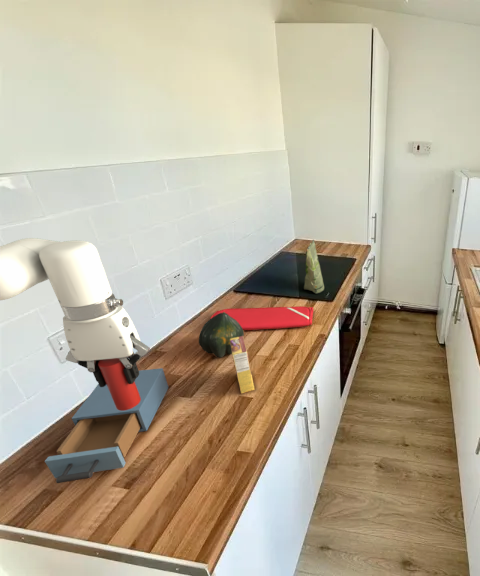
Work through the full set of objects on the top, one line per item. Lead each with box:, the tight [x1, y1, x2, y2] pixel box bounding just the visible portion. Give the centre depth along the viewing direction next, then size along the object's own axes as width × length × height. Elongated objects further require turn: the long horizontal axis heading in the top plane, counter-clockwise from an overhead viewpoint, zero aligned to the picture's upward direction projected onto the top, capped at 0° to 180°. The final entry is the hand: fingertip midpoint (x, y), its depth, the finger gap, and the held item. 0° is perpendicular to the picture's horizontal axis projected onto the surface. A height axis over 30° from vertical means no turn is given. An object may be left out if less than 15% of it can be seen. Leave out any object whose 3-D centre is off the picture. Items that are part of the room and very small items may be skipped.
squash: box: [198, 312, 245, 359], centre depth 117 cm, size 14×15×15 cm
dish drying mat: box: [209, 305, 314, 331], centre depth 136 cm, size 16×41×4 cm, turn 98°
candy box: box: [230, 336, 255, 395], centre depth 101 cm, size 9×4×15 cm, turn 28°
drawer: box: [44, 413, 141, 484], centre depth 78 cm, size 20×13×6 cm
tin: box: [98, 358, 141, 411], centre depth 69 cm, size 4×4×12 cm
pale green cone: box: [303, 239, 325, 294], centre depth 161 cm, size 11×12×25 cm
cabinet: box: [71, 367, 170, 433], centre depth 90 cm, size 17×15×8 cm
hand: (119, 380), depth 69 cm, fingers closed on tin, 4 cm apart
